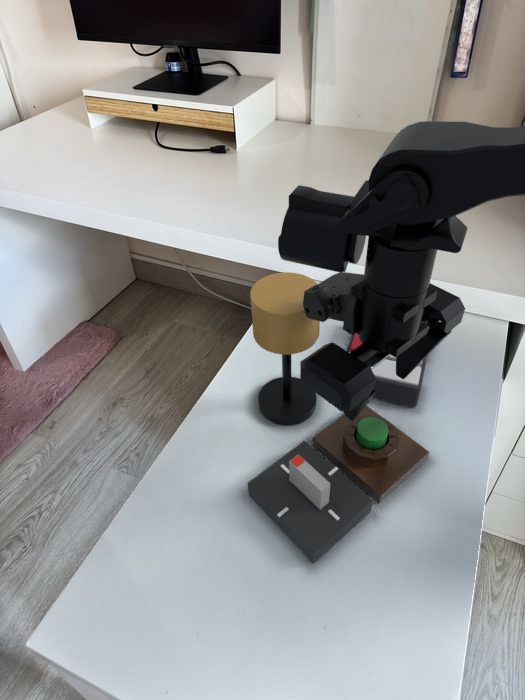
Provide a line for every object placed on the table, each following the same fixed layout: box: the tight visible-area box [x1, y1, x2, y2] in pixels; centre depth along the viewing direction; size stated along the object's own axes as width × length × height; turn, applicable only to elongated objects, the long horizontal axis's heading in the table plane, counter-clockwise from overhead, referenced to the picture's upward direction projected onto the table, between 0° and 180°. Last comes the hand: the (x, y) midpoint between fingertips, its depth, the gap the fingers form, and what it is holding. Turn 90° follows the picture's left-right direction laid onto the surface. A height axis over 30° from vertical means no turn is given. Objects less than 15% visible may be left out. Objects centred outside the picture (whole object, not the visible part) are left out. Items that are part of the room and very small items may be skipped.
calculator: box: [346, 333, 428, 408], centre depth 73 cm, size 11×4×15 cm
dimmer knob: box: [289, 455, 330, 510], centre depth 55 cm, size 5×1×4 cm, turn 40°
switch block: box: [312, 405, 431, 504], centre depth 62 cm, size 11×9×4 cm
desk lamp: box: [249, 271, 321, 427], centre depth 63 cm, size 8×8×19 cm
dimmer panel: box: [246, 440, 374, 564], centre depth 58 cm, size 11×9×3 cm
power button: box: [356, 417, 388, 450], centre depth 60 cm, size 4×4×2 cm
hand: (376, 396), depth 55 cm, fingers open, 8 cm apart
